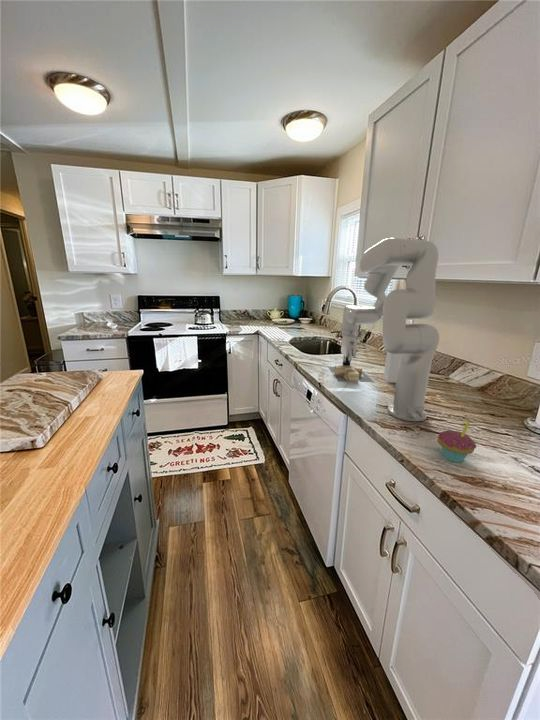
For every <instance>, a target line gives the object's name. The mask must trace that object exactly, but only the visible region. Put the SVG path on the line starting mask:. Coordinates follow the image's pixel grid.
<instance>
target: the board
mask: <svg viewBox="0 0 540 720" xmlns="http://www.w3.org/2000/svg"><path fill="white" fill-rule="evenodd" d="M334 367H335V366H327V368H328V370H329V371H330V372H331V374H332V375H333V376H334V377H335V378H336V380H337V382H340V383H341V382H348V383H350V382H349V381H348V380H347V379H346V378H345V376H336V375H335V374H334ZM374 382H375V381H374V380H373V379H372V378H371V377H370V376H368V374H366V372H364V370H362V376H359V380H358V382H357V383H374Z"/></svg>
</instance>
